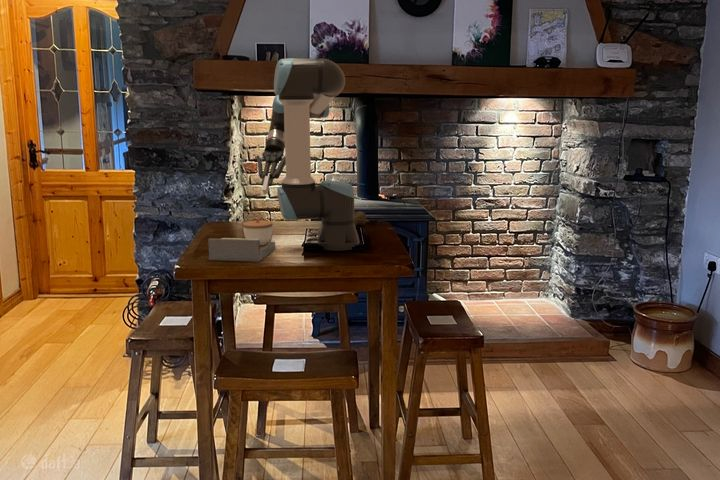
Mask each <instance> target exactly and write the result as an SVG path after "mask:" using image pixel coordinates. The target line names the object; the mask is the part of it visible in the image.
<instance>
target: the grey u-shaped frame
mask: <svg viewBox="0 0 720 480" xmlns="http://www.w3.org/2000/svg"><path fill="white" fill-rule="evenodd" d="M207 241H208V256H209V258H208V259H209V261H220V262H221V261H223V262H224V261H226V262H227V261H228V262H255V263H259V262H260V261H262V260H263V259H264V258H267V256H268V255H269V254H271V252H273V251H274V250H276V242H275V241H270V242H269V243H267V244H265V245H264V247H262V248H261V245H260V240H249V239H246V238H241V239H221V238H212V237H210V238H208V239H207Z"/></svg>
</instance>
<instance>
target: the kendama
mask: <svg viewBox="0 0 720 480" xmlns="http://www.w3.org/2000/svg"><path fill="white" fill-rule="evenodd" d="M369 222H370V220H368V219H367V215H366V213H365V212H363V211H356V212H354V225H355V228H357V226H364V225H365V224H366V223H369Z"/></svg>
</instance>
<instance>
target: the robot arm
mask: <svg viewBox="0 0 720 480" xmlns="http://www.w3.org/2000/svg"><path fill="white" fill-rule="evenodd" d="M345 86H346V77H345V74H344V71H343V70H342V68H341V67H340V66H339V65H338V64H337V63H336V62H334V61H332V60H330V59H328V58H327V59H326V58H305V57H304V58H303V57H299V58H298V57H291V58H290V57H288V58H287V57H286V58H281V59H279V60H278V61H277V63H276V66H275V70H274V78H273V92H274V95H275V96H274V99H273V102H272V107H271V108H272V109H271V110H272V112H271V118H270V124H269V125H270V126H269V130H268V134H267V138H266V142H265V147H264V150H263V152H262V153H261V155H256V156H255V159H256V160H257V171H258V172H257V173H258V176H259V178H260V179H261V185H262V188H261V191H262V193H263V195H268V193H269V189H270V187H272V186H273V183H274V182H273V181H274V179H276V180H277V179H280V176H281V173H283V171H284V168H285V177H284V178H283V179H282V180H281V185H280V186H278V187H277V188H276V190H277V192H276V193H277V201H278V205H279V210H280V213H281V216H282V218H283V219H284V220H286V221H298V220H299V221H301V220H303V221H304V220H317V219H318V220H319V219H321V226H320V230H319V233H318V236H317V240H316V243H317V242H318V243H319V244H321V245H322V246H323V247H324V248H325V249H324V251H330V252H331V251H336V252H337V251H338V252H340V251H341V252H342V251H351V250H353V249H352V247H354V246H355V245H357V244H359V243H360V238H359V234H358V231H357V229H356V228H357V227H355V225H354V214H355V188H354V186H353V185H352V184H351V183H348V182H343V181H336V180H321V181H320V185H319V184H318V185H317V184H316V180H315V178H313V177H312V174H311V173H312V172H311V171H312V170H311V168H312V167H311V164H312V163H311V162H312V161H311V160H312V159H311V123H310V120H311V119H326V118H328V117H329V115H330V103H331V102H332V100H333V99H334V98H335V97H337V96H339V95H340V94H341V93H342V91H343V90H344V89H345V88H344V87H345ZM263 160H264V162H265V164H264V168H263Z"/></svg>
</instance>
